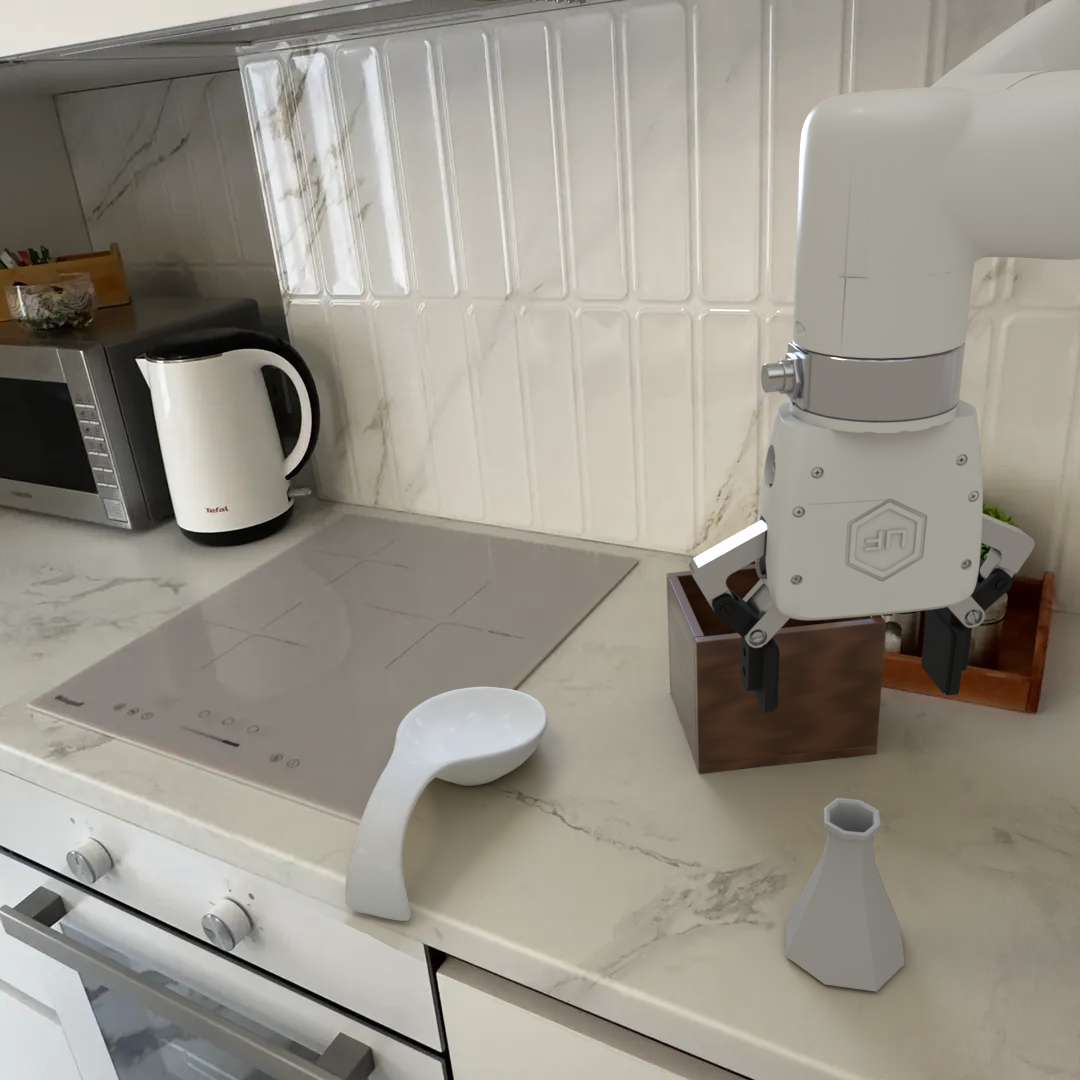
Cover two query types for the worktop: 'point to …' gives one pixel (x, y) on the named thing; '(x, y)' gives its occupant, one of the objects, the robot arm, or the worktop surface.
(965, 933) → the worktop surface
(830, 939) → the flask
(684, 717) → the box
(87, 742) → the worktop surface
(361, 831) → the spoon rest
